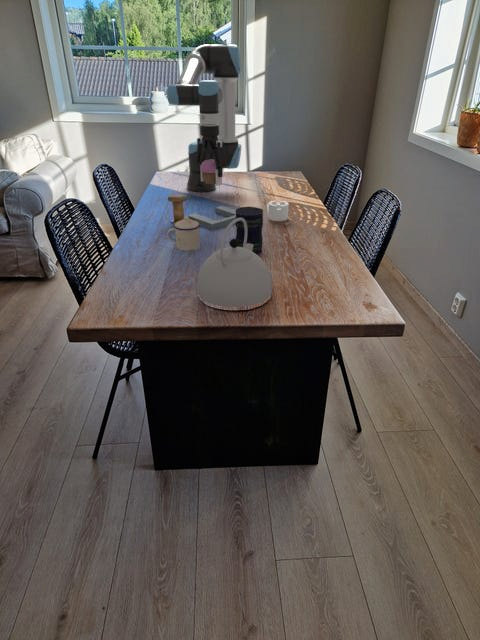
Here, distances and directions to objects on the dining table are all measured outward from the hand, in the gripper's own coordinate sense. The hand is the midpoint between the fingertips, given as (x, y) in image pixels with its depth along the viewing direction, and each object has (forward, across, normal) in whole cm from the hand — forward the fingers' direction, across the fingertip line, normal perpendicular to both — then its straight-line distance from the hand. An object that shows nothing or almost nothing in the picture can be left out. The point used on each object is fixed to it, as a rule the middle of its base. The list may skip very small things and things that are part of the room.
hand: (211, 182), depth 187 cm
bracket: (+16, +15, +26) cm, 34 cm away
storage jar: (+16, +37, -15) cm, 43 cm away
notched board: (+15, 0, 0) cm, 15 cm away
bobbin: (+16, -6, -14) cm, 22 cm away
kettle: (+16, +57, -40) cm, 72 cm away
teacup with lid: (+16, +18, -30) cm, 38 cm away
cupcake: (+1, 0, 0) cm, 1 cm away
